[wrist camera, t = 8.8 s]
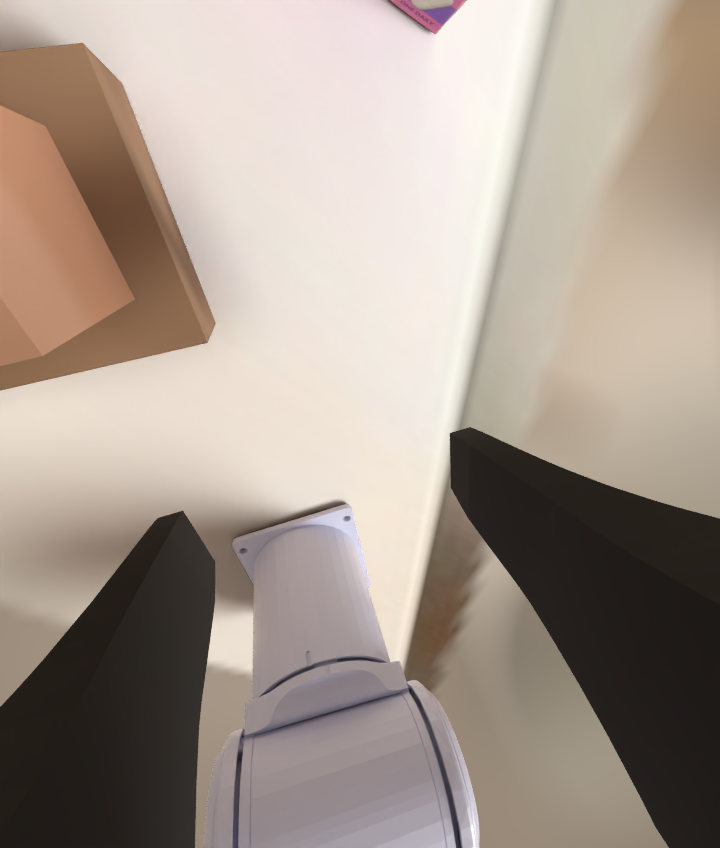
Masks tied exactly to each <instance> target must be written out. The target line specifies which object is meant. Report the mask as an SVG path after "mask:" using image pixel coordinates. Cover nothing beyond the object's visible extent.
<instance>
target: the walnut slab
mask: <svg viewBox="0 0 720 848" xmlns="http://www.w3.org/2000/svg"><path fill="white" fill-rule="evenodd" d="M0 105H1V106H3V107H5V108H7V109H10V110H12V111H14V112H16V113H18V114H20V115H23V116H25V117H27V118H29V119H31V120H34V121H36V122H38V123H40V124H42V125H44V126H46V128H47V130H48V132H49V134H50V136H51V138H52V140H53V142H54V144H55V146H56V147H57V149H58V151H59V153H60V155H61V157H62V159H63V161H64V163H65V165H66V167H67V169H68V171H69V173H70V175H71V176H72V178H73V180H74V182H75V184H76V186H77V188H78V190H79V192H80V194H81V196H82V198H83V200H84V202H85V203H86V205H87V207H88V209H89V211H90V213H91V215H92V217H93V219H94V221H95V223H96V225H97V227H98V229H99V231H100V232H101V234H102V236H103V238H104V240H105V242H106V244H107V246H108V248H109V250H110V252H111V254H112V256H113V258H114V259H115V261H116V263H117V265H118V267H119V269H120V271H121V273H122V275H123V277H124V279H125V281H126V283H127V285H128V287H129V288H130V290H131V292H132V294H133V296H134V298H135V300H133V301H131V302H130V303H128V304H127V305H125V306H123V307H122V308H120V309H118V310H117V311H115V312H114V313H112V314H110V315H109V316H107V317H105V318H104V319H102V320H101V321H99V322H97V323H96V324H94V325H92V326H91V327H89V328H88V329H86V330H84V331H83V332H81V333H79V334H78V335H76V336H75V337H73V338H71V339H70V340H68V341H66V342H65V343H63V344H62V345H60V346H58V347H57V348H55V349H53V350H52V351H50V352H49V353H47V354H45V355H44V356H41V357H37V358H33V359H28V360H24V361H20V362H16V363H12V364H7V365H3V366H0V390H5V389H9V388H13V387H18V386H22V385H26V384H31V383H35V382H39V381H44V380H48V379H52V378H57V377H61V376H65V375H70V374H74V373H78V372H83V371H87V370H91V369H96V368H100V367H104V366H109V365H113V364H117V363H122V362H126V361H130V360H135V359H139V358H143V357H148V356H152V355H157V354H161V353H165V352H170V351H174V350H178V349H183V348H187V347H191V346H196V345H200V344H204V343H207V342H208V340H209V338H210V335H211V333H212V331H213V328H214V326H215V324H216V323H215V321H214V318H213V315H212V313H211V310H210V308H209V305H208V303H207V300H206V298H205V295H204V292H203V290H202V287H201V285H200V282H199V280H198V277H197V274H196V272H195V269H194V267H193V264H192V262H191V259H190V256H189V254H188V251H187V249H186V246H185V244H184V241H183V239H182V236H181V233H180V231H179V228H178V226H177V223H176V221H175V218H174V215H173V213H172V210H171V208H170V205H169V203H168V200H167V197H166V195H165V192H164V190H163V187H162V185H161V182H160V180H159V177H158V174H157V172H156V169H155V167H154V164H153V162H152V159H151V156H150V154H149V151H148V149H147V146H146V144H145V141H144V138H143V136H142V133H141V131H140V128H139V126H138V123H137V121H136V118H135V115H134V113H133V110H132V108H131V105H130V103H129V100H128V97H127V95H126V92H125V90H124V87H123V85H122V83H121V82H120V81H119V80H118V79H117V78H116V77H115V76H114V75H113V74H112V73H111V71H110V70H109V69H108V68H107V67H106V66H105V65H104V64H103V63H102V62H101V61H100V60H99V59H98V58H97V57H96V56H95V55H94V54H93V53H92V52H91V51H90V50H89V49H88V48H87V47H86V46H85V45H84V44H83V43H77V44H68V45H59V46H50V47H41V48H32V49H23V50H15V51H6V52H0Z"/></svg>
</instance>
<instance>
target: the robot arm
mask: <svg viewBox="0 0 720 848" xmlns="http://www.w3.org/2000/svg"><path fill="white" fill-rule="evenodd" d="M450 463H451V489H452V490H453V492H454V494H455V496H456V498H457V499H458V501H459V503H460V505H461V507H462V508H463V510H464V512H465V514H466V515H467V517H468V518H469V520H470V521H471V523H472V524H473V525H474V527H475V528H476V530H477V531H478V532H479V534H480V535H481V536H482V538H483V539H484V540H485V542H486V543H487V544H488V546H489V547H490V548H491V550H492V551H493V552H494V554H495V555H496V556H497V558H498V559H499V560H500V562H501V563H502V564H503V566H504V567H505V568H506V570H507V571H508V572H509V574H510V575H511V576H512V578H513V579H514V580H515V582H516V583H517V585H518V586H519V587H520V589H521V590H522V592H523V593H524V595H525V596H526V597H527V599H528V600H529V602H530V603H531V605H532V606H533V608H534V610H535V611H536V613H537V614H538V616H539V618H540V619H541V621H542V622H543V624H544V626H545V627H546V629H547V631H548V632H549V634H550V636H551V637H552V639H553V641H554V642H555V644H556V645H557V647H558V649H559V651H560V652H561V654H562V656H563V658H564V659H565V661H566V663H567V664H568V666H569V668H570V669H571V671H572V673H573V675H574V676H575V678H576V680H577V681H578V683H579V685H580V687H581V688H582V690H583V692H584V694H585V695H586V697H587V699H588V701H589V703H590V704H591V706H592V708H593V710H594V712H595V713H596V715H597V717H598V719H599V720H600V722H601V724H602V726H603V728H604V730H605V731H606V733H607V735H608V736H609V738H610V740H611V742H612V744H613V746H614V748H615V750H616V752H617V754H618V756H619V757H620V759H621V761H622V763H623V765H624V767H625V769H626V770H627V772H628V774H629V776H630V778H631V780H632V782H633V784H634V786H635V788H636V789H637V791H638V793H639V795H640V797H641V799H642V801H643V803H644V805H645V807H646V809H647V811H648V813H649V815H650V817H651V819H652V821H653V823H654V825H655V827H656V828H657V830H658V832H659V833H660V835H661V836H662V838H663V839H664V841H665V842H666V843H667V845H668V847H669V848H720V519H719V518H715V517H712V516H708V515H704V514H700V513H697V512H692V511H689V510H685V509H681V508H677V507H674V506H671V505H667V504H664V503H661V502H657V501H654V500H651V499H647V498H645V497H641V496H638V495H635V494H632V493H629V492H626V491H623V490H620V489H617V488H614V487H611V486H608V485H605V484H602V483H600V482H597V481H595V480H592V479H589V478H587V477H584V476H582V475H579V474H576V473H574V472H571V471H568V470H566V469H564V468H561V467H559V466H556V465H554V464H552V463H549V462H547V461H545V460H542V459H540V458H538V457H536V456H533V455H531V454H529V453H527V452H524V451H522V450H520V449H518V448H516V447H513V446H511V445H509V444H507V443H505V442H503V441H500V440H498V439H496V438H494V437H492V436H489V435H487V434H485V433H483V432H481V431H478V430H476V429H473V428H471V427H469V428H466V429H463V430H459V431H456V432H452V433H450ZM345 516H348V517H345ZM232 547H233V549H234V551H235V553H236V555H237V556H238V558H239V560H240V562H241V563H242V565H243V567H244V569H245V571H246V572H247V574H248V576H249V578H250V579H251V581H252V583H253V585H254V611H253V690H252V700H250V701H247V702H246V704H245V730H244V729H240V730H237V731H233V732H232V733H231V734H230V735H229V736H228V738H227V741H226V743H225V745H224V746H223V748H222V749H221V751H220V753H219V754H218V756H217V758H216V760H215V763H214V767H213V771H212V776H211V782H210V787H209V794H208V801H207V810H206V819H205V832H204V844H203V848H479V822H478V814H477V808H476V803H475V798H474V794H473V789H472V785H471V782H470V778H469V775H468V771H467V767H466V764H465V761H464V758H463V755H462V752H461V749H460V747H459V744H458V741H457V738H456V736H455V733H454V731H453V729H452V726H451V724H450V722H449V720H448V718H447V715H446V714H445V712H444V710H443V708H442V706H441V705H440V703H439V702H438V700H437V699H436V697H435V696H434V695H433V694H432V693H431V692H429V691H428V690H427V689H426V688H425V687H424V686H423V685H422V684H421V683H420V682H418V681H416V680H412V681H408V682H406V679H405V676H404V673H403V670H402V667H401V664H400V662H399V661H395V662H390V659H389V656H388V653H387V649H386V646H385V643H384V639H383V636H382V633H381V629H380V626H379V623H378V619H377V616H376V613H375V609H374V606H373V603H372V599H371V596H370V593H369V589H368V588H369V587H370V580H369V576H368V572H367V568H366V564H365V560H364V556H363V552H362V548H361V544H360V539H359V535H358V531H357V527H356V523H355V519H354V515H353V511H352V508H351V506H350V505H347V504H345V505H341V506H337V507H334V508H331V509H328V510H324V511H321V512H318V513H315V514H311V515H308V516H305V517H301V518H298V519H295V520H292V521H288V522H285V523H282V524H279V525H275V526H272V527H269V528H266V529H262V530H259V531H256V532H253V533H249V534H246V535H243V536H240V537H237V538H235V539H234V540H233V543H232ZM242 548H245V549H242ZM214 604H215V561H214V559H213V558H212V556H211V554H210V553H209V551H208V550H207V548H206V547H205V545H204V543H203V542H202V540H201V539H200V537H199V535H198V534H197V532H196V531H195V529H194V527H193V526H192V524H191V523H190V521H189V520H188V518H187V516H186V515H185V513H184V512H183V511H181V512H177V513H174V514H170V515H167V516H163V517H160V518H158V519H157V520H156V521H155V522H154V523H153V524H152V526H151V527H150V528H149V529H148V530H147V532H146V533H145V534H144V536H143V537H142V538H141V539H140V541H139V542H138V543H137V545H136V546H135V547H134V548H133V550H132V551H131V552H130V554H129V555H128V556H127V558H126V559H125V560H124V561H123V563H122V564H121V565H120V567H119V568H118V569H117V570H116V572H115V573H114V574H113V575H112V577H111V578H110V579H109V581H108V582H107V583H106V584H105V586H104V587H103V588H102V590H101V591H100V592H99V593H98V595H97V596H96V597H95V598H94V600H93V601H92V602H91V603H90V605H89V606H88V607H87V608H86V609H85V611H84V612H83V613H82V614H81V615H80V617H79V618H78V619H77V620H76V621H75V623H74V624H73V625H72V626H71V627H70V629H69V630H68V631H67V632H66V633H65V635H64V636H63V637H62V638H61V639H60V641H59V642H58V643H57V644H56V645H55V647H54V648H53V649H52V650H51V651H50V653H49V654H48V655H47V656H46V658H45V659H44V660H43V661H42V662H41V663H40V664H39V665H38V666H37V668H36V669H35V670H34V671H33V672H32V673H31V674H30V675H29V677H28V678H27V679H26V680H25V681H24V682H23V683H22V684H21V686H20V687H19V688H18V689H17V690H16V691H15V692H14V693H13V694H12V695H11V696H10V697H9V698H8V699H7V701H6V702H5V703H4V704H3V705H2V706H1V707H0V848H195V818H196V778H197V758H198V736H199V721H200V712H201V701H202V694H203V687H204V680H205V672H206V665H207V658H208V650H209V643H210V636H211V628H212V620H213V612H214Z"/></svg>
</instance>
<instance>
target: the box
mask: <svg viewBox="0 0 720 848" xmlns="http://www.w3.org/2000/svg"><path fill="white" fill-rule="evenodd" d="M390 1H391V2H392V3H394V4H395V5H396V6H398V7H399V8H400V9H402V10H403V11H404V12H406V13H407V14H408V15H410V16H411V17H412V18H414V19H415V20H416V21H418V22H419V23H420V24H422V25H423V26H425V27H426V28H427V29H429V30H430V31H431V32H433V33H434V34H437V33H438V31H439V30H440V29H441V28H442V27H443V26H444V24H445V23H446V22H447V21H448V20H449V19H450V18H451V17H452V16H453V15H454V14H455V13H456V12H457V11H458V10H459V9H460V7H461V6H462V5H463V4H464V3H465V2H466V1H467V0H390Z"/></svg>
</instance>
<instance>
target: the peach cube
mask: <svg viewBox="0 0 720 848" xmlns="http://www.w3.org/2000/svg"><path fill="white" fill-rule="evenodd" d="M133 300H135V298H134V296H133V294H132V292H131V290H130V288H129V287H128V285H127V283H126V281H125V279H124V277H123V275H122V273H121V271H120V269H119V267H118V265H117V263H116V261H115V259H114V258H113V256H112V254H111V252H110V250H109V248H108V246H107V244H106V242H105V240H104V238H103V236H102V234H101V232H100V231H99V229H98V227H97V225H96V223H95V221H94V219H93V217H92V215H91V213H90V211H89V209H88V207H87V205H86V203H85V202H84V200H83V198H82V196H81V194H80V192H79V190H78V188H77V186H76V184H75V182H74V180H73V178H72V176H71V175H70V173H69V171H68V169H67V167H66V165H65V163H64V161H63V159H62V157H61V155H60V153H59V151H58V149H57V147H56V146H55V144H54V142H53V140H52V138H51V136H50V134H49V132H48V130H47V128H46V126H44V125H42V124H40V123H38V122H36V121H34V120H31V119H29V118H27V117H25V116H23V115H20V114H18V113H16V112H14V111H12V110H10V109H7V108H5V107H3V106H1V105H0V366H3V365H7V364H12V363H16V362H20V361H24V360H28V359H33V358H37V357H41V356H44V355H45V354H47V353H49V352H50V351H52V350H53V349H55V348H57V347H58V346H60V345H62V344H63V343H65V342H66V341H68V340H70V339H71V338H73V337H75V336H76V335H78V334H79V333H81V332H83V331H84V330H86V329H88V328H89V327H91V326H92V325H94V324H96V323H97V322H99V321H101V320H102V319H104V318H105V317H107V316H109V315H110V314H112V313H114V312H115V311H117V310H118V309H120V308H122V307H123V306H125V305H127V304H128V303H130V302H131V301H133Z"/></svg>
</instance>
